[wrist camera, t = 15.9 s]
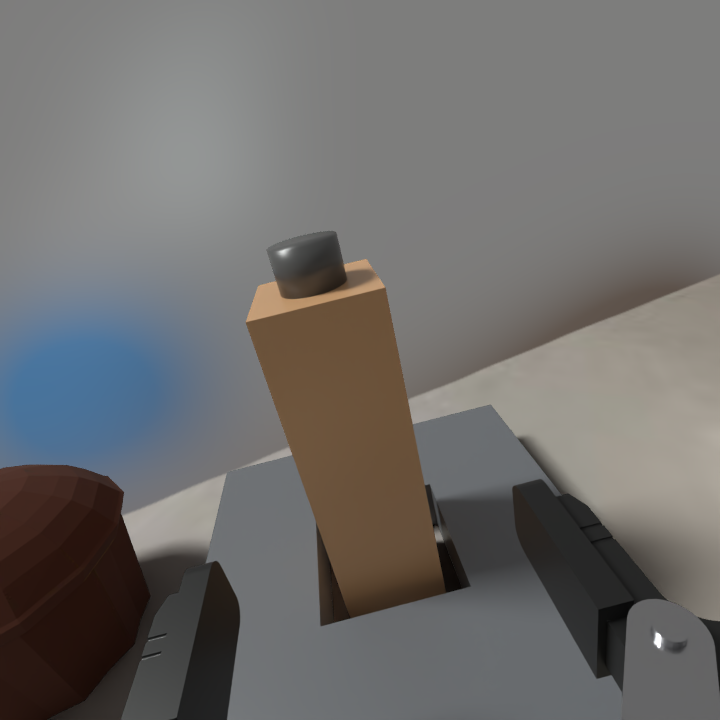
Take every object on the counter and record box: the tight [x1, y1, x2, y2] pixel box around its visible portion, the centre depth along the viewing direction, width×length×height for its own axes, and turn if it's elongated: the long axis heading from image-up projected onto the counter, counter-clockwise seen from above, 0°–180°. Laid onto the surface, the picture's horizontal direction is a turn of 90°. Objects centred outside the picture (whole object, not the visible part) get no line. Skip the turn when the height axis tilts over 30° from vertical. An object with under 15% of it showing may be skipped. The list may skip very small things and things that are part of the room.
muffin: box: [0, 465, 150, 720], centre depth 22 cm, size 12×11×10 cm
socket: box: [206, 405, 622, 720], centre depth 22 cm, size 18×18×3 cm
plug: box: [246, 231, 446, 619], centre depth 19 cm, size 4×4×18 cm
